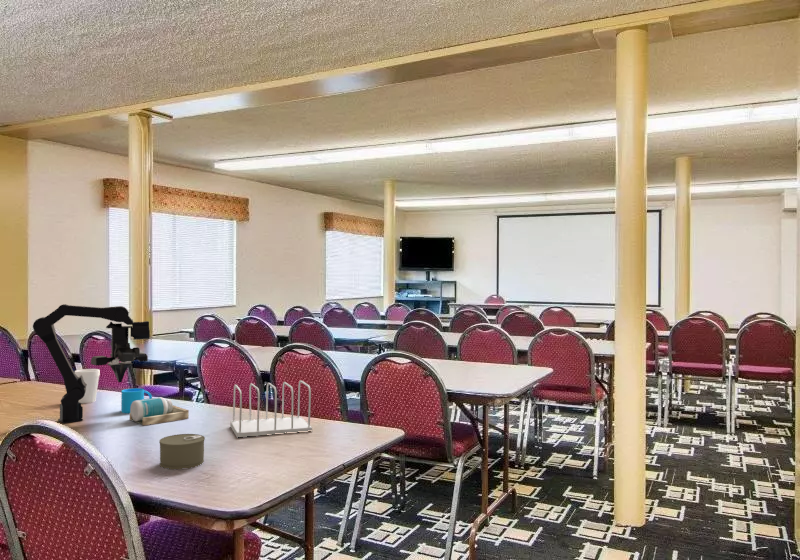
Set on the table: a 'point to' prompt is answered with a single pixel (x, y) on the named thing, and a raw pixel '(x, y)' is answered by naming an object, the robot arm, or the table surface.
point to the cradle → (165, 416)
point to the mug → (131, 398)
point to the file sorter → (270, 424)
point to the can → (181, 451)
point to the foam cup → (89, 383)
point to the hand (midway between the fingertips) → (119, 382)
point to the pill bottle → (150, 408)
